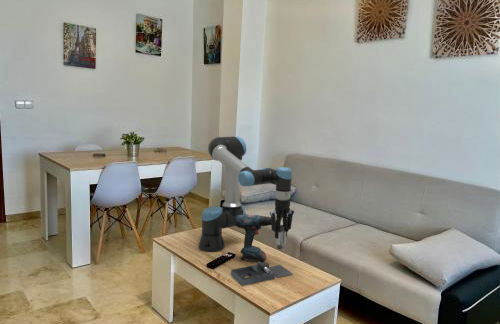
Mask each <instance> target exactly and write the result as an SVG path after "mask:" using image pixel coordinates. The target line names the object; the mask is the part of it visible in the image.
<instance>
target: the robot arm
mask: <svg viewBox="0 0 500 324" xmlns="http://www.w3.org/2000/svg"><path fill="white" fill-rule="evenodd" d="M207 150H208V154H209V157H211V159H213V160H214V161H218V162H219V163H221V164H222V165H223V166H224V202H222V207H221V206H209V207H207V208H204V209H203V211H202V214H201V236H200V238H199V241H198V249H199V250H200V251H203V252H206V253H207V252H209V253H216V252H220V251H223V250H224V249H225V241H224V237H223V234H222V233H223V229H229V228H233V227H234V228H235V227H237V226H236V224H235V217H236V216H237V215H244V214H246V211H245V208H244V207H243V204H242V203H241V202H240V186H242V187H252V186H259V185H269V184H271V185H274V186H275V200H274V210H273V211H270V212H269V215H270V217H271V225H270V227H271V231H272V232H274V239H275V244H276V245H280V232H279V229H280V225H281V222H282V225H284V226H285V230H284V236H283V245H286V242H287V238H288V237H287V236H288V232H289V231H290V230H291V229H292V221H293V217H294V213H295V211H294V210H293V209H291V208H290V207H291V195H292V194H291V193H292V179H293V178H292V177H293V173H292V168H290V167H286V166H284V167H283V166H280V167H277V168H275V169H274V168H271V167H263V168H262V169H252V168H251V167H250V166H249V165H247V164H246V163H244V162H243V161H242V160H243V157H244V156H245V155H246V153H247V144H246V142H245V140H244V139H243V138H242V137H240V136H235V135H234V136H218V137H215V138H213V139H211V140H210V142H209V143H208V146H207Z"/></svg>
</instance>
